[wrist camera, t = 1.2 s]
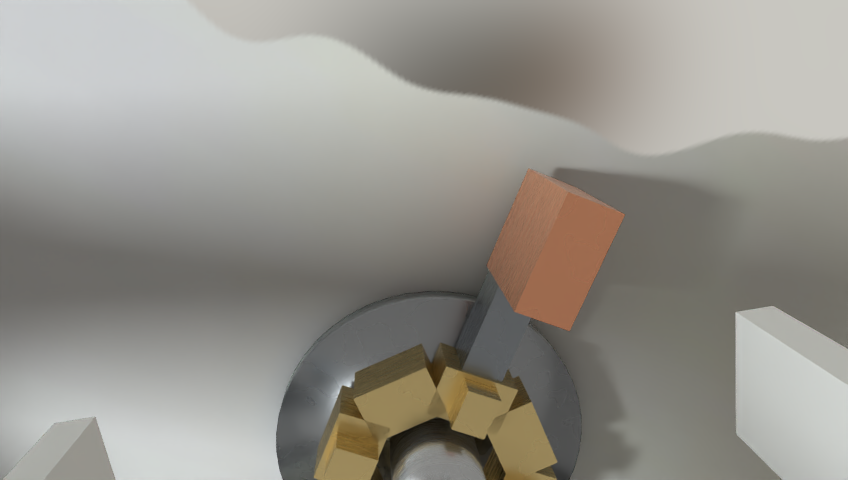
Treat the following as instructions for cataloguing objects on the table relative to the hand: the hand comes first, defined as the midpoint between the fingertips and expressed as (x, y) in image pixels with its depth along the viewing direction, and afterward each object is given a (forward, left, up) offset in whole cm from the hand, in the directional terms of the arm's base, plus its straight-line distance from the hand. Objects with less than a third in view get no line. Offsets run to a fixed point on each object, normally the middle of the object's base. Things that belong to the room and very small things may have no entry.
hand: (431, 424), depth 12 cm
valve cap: (+6, -11, -19) cm, 22 cm away
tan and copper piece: (+6, -6, -17) cm, 19 cm away
